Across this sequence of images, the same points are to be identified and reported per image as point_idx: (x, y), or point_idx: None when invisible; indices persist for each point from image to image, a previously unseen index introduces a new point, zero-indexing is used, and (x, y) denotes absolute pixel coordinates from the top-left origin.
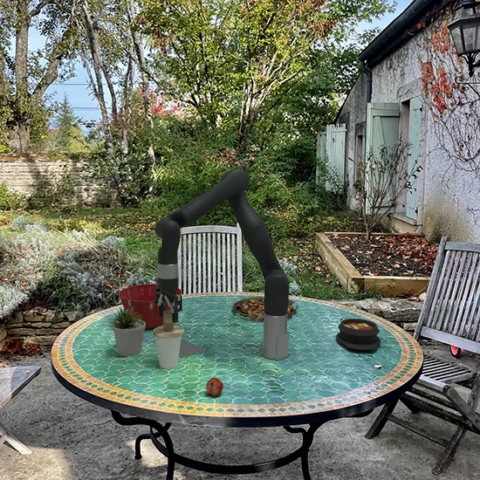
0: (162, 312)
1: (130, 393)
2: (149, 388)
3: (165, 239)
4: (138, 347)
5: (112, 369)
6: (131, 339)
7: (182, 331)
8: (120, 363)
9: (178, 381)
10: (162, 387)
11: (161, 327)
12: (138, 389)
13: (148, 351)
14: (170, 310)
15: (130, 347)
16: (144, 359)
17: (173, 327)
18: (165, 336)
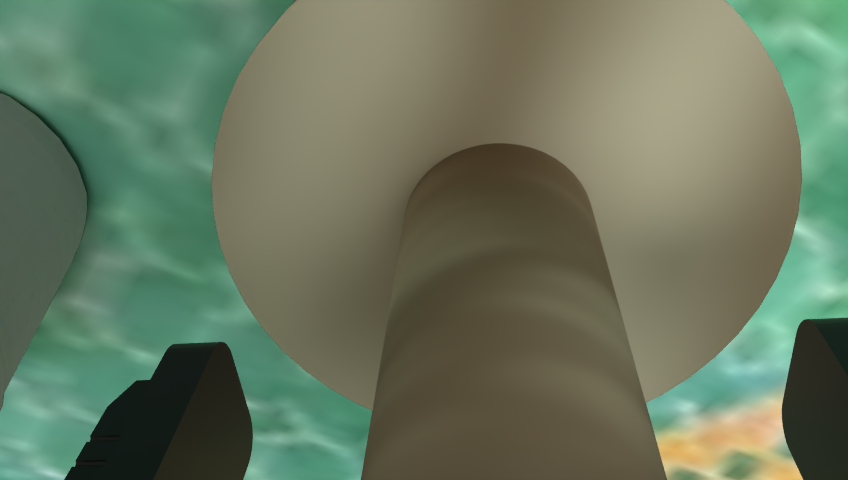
0: (209, 469)
1: (705, 442)
2: (740, 334)
3: None
4: (44, 181)
5: (278, 393)
6: (28, 321)
7: (743, 46)
8: (195, 318)
9: (826, 109)
10: (805, 261)
11: (287, 255)
12: (694, 390)
13: (5, 15)
14: (434, 464)
15: (59, 269)
16: (196, 137)
17: (565, 189)
18: (687, 365)
